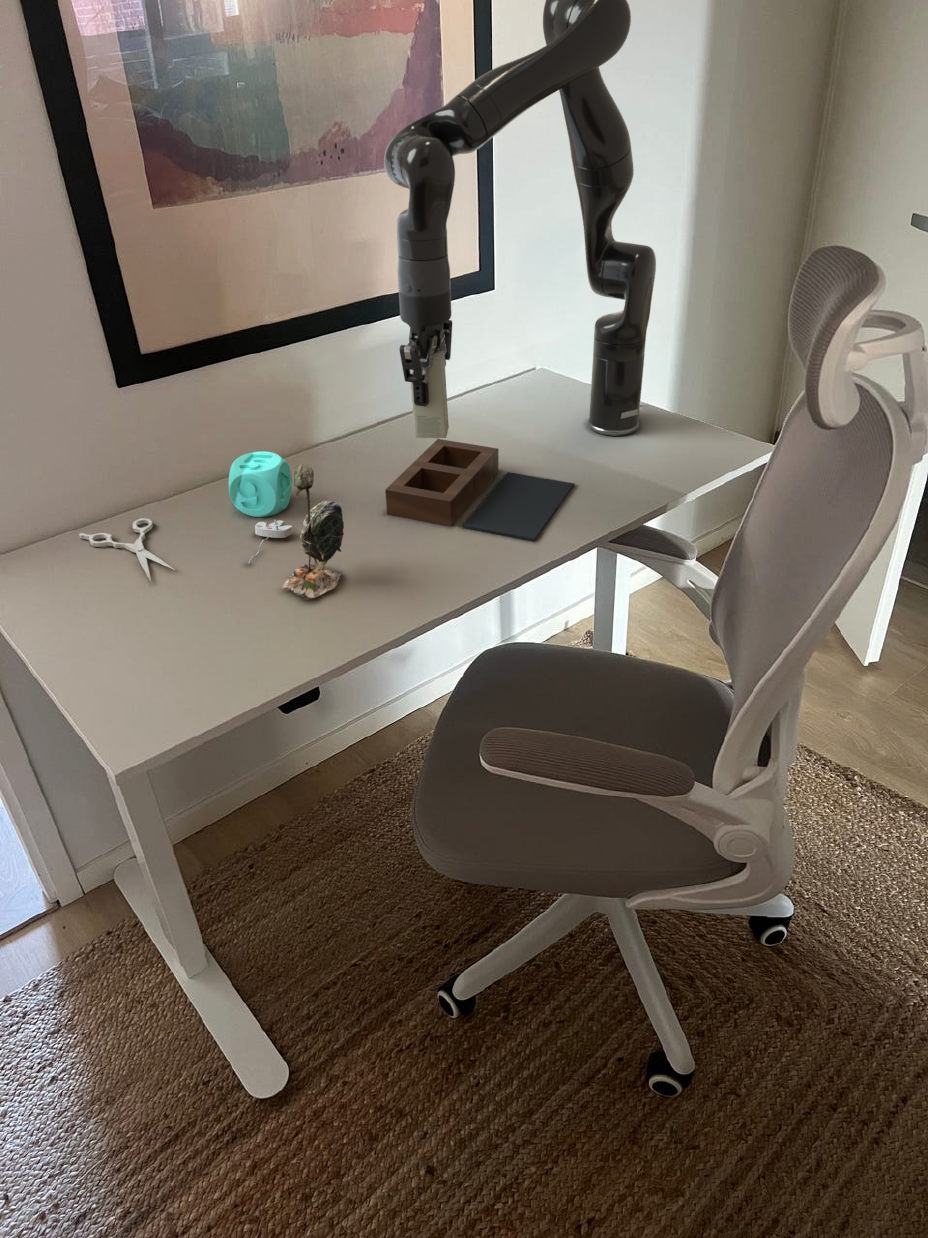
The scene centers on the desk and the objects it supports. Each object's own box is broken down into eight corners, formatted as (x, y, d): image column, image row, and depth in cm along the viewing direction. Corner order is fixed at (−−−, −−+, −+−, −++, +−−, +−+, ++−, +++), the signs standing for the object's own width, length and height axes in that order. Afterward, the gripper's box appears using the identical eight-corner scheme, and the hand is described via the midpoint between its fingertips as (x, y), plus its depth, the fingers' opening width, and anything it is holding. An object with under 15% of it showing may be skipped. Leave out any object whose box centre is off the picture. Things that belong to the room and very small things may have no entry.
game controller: (294, 526, 157) (292, 511, 155) (286, 564, 148) (284, 549, 146) (258, 527, 157) (256, 512, 155) (248, 565, 147) (246, 550, 146)
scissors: (143, 513, 160) (197, 561, 147) (144, 517, 160) (198, 566, 147) (78, 533, 154) (128, 586, 141) (79, 538, 155) (130, 591, 142)
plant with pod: (366, 576, 144) (355, 450, 133) (304, 607, 138) (287, 478, 126) (331, 556, 149) (317, 433, 138) (269, 586, 143) (250, 459, 131)
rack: (438, 461, 175) (437, 438, 173) (498, 472, 172) (498, 448, 169) (386, 514, 160) (385, 489, 157) (451, 526, 156) (450, 501, 153)
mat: (507, 474, 171) (507, 471, 170) (574, 485, 167) (574, 483, 166) (462, 527, 156) (462, 525, 155) (534, 541, 152) (534, 538, 151)
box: (449, 427, 157) (446, 348, 149) (446, 439, 153) (443, 359, 146) (416, 427, 157) (412, 348, 150) (412, 438, 154) (407, 358, 146)
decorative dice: (294, 495, 166) (288, 452, 161) (280, 518, 159) (273, 473, 155) (248, 493, 167) (241, 449, 162) (232, 516, 160) (224, 471, 156)
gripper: (427, 303, 135) (432, 419, 145) (467, 275, 146) (470, 384, 156) (378, 298, 138) (386, 412, 148) (421, 270, 149) (426, 378, 158)
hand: (429, 397), depth 152 cm, fingers closed on box, 5 cm apart
